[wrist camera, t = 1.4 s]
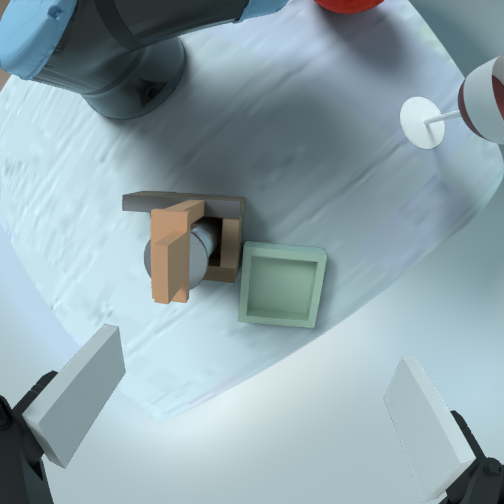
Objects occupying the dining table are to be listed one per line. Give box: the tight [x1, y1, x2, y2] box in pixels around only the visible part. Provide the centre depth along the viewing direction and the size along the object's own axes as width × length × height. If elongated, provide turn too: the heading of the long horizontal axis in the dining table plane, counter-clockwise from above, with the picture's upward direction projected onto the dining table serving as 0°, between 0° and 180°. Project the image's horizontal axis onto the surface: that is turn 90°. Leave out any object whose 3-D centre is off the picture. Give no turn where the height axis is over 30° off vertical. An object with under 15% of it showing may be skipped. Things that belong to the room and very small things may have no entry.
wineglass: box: [400, 55, 504, 149], centre depth 22 cm, size 8×9×20 cm
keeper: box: [151, 200, 205, 304], centre depth 25 cm, size 7×3×13 cm, turn 175°
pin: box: [144, 216, 223, 290], centre depth 31 cm, size 6×6×13 cm
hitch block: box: [122, 191, 245, 283], centre depth 35 cm, size 9×14×6 cm
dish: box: [238, 241, 327, 328], centre depth 38 cm, size 10×10×3 cm
